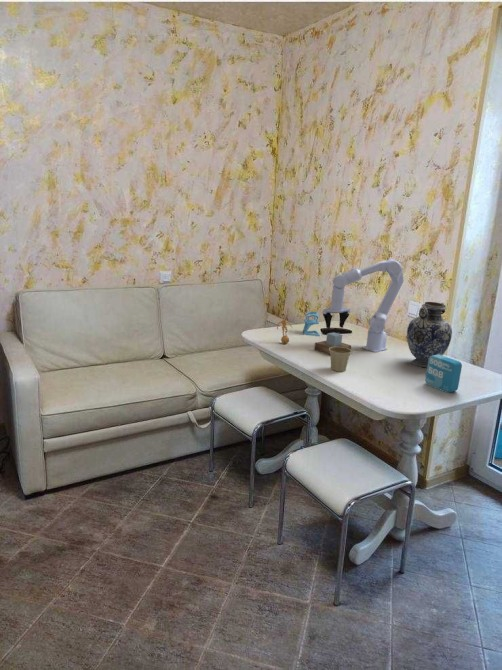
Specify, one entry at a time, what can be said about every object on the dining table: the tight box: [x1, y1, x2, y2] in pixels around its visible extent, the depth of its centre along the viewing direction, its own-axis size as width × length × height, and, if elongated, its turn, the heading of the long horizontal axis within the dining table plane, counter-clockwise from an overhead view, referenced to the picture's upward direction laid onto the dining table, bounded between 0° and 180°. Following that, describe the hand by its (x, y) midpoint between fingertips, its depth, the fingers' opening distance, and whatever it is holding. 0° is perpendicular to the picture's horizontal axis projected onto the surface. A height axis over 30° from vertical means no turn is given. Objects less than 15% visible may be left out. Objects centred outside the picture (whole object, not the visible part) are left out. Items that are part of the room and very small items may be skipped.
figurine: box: [276, 318, 293, 344], centre depth 236 cm, size 8×6×12 cm
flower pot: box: [329, 347, 353, 372], centre depth 201 cm, size 9×9×9 cm
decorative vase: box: [406, 301, 453, 369], centre depth 212 cm, size 21×19×28 cm
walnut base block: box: [314, 340, 352, 356], centre depth 228 cm, size 12×12×4 cm
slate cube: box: [325, 332, 343, 346], centre depth 226 cm, size 5×5×5 cm
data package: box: [425, 355, 463, 393], centre depth 186 cm, size 12×4×12 cm, turn 30°
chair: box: [301, 311, 320, 337], centre depth 256 cm, size 8×8×12 cm
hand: (334, 327), depth 234 cm, fingers open, 7 cm apart
